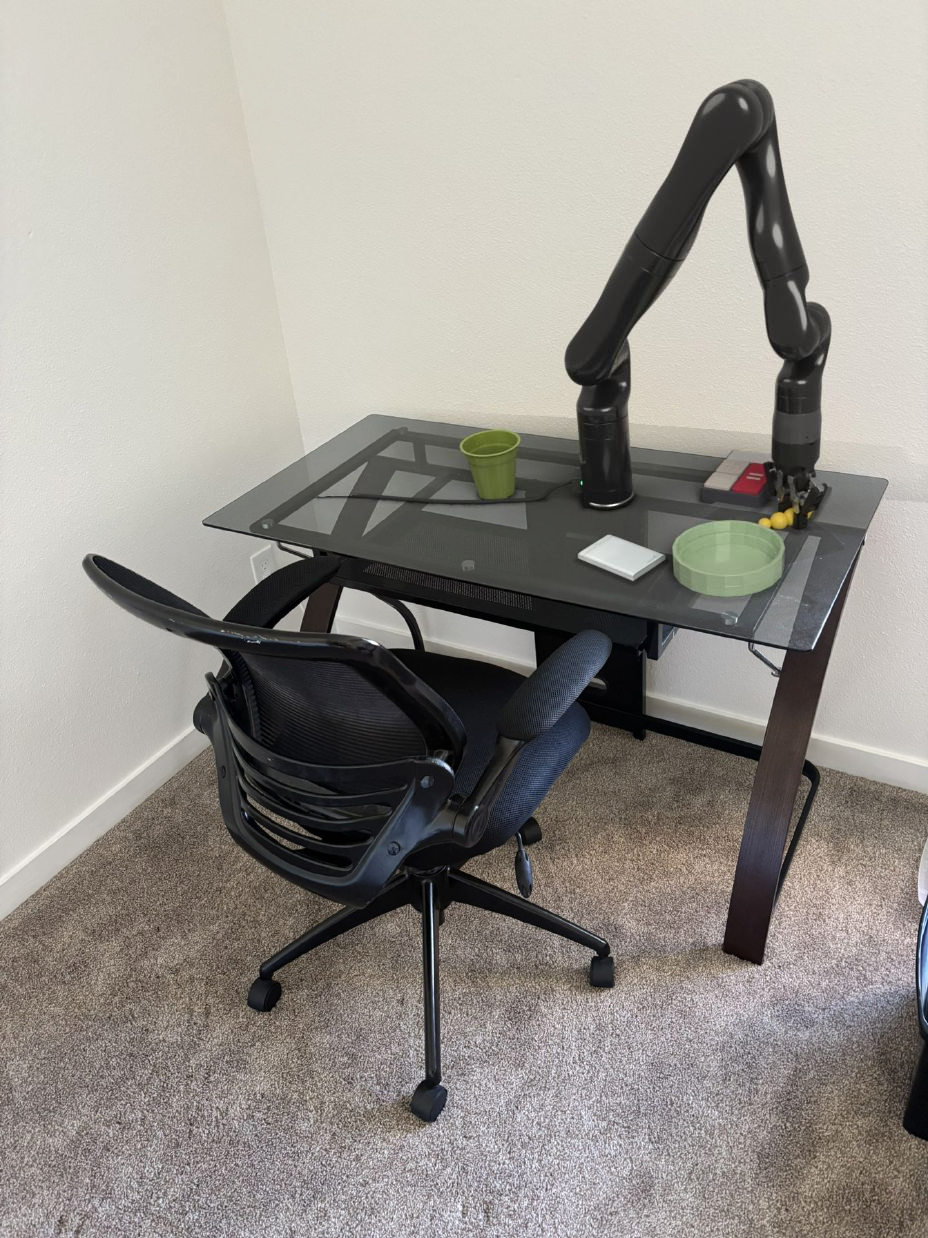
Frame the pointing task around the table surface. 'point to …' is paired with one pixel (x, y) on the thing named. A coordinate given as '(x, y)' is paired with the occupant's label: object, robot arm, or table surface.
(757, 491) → the calculator
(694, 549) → the bowl
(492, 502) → the robot arm
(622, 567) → the hard drive
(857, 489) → the table surface
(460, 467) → the table surface
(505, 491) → the plant pot
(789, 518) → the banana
